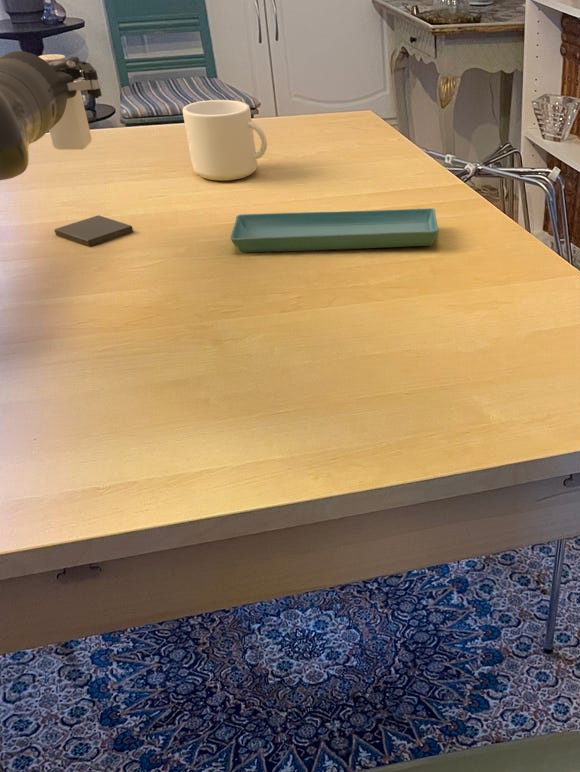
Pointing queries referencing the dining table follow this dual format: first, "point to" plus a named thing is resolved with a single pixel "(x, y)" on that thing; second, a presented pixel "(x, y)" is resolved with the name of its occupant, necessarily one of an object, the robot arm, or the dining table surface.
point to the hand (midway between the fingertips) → (60, 67)
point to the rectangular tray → (334, 230)
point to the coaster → (93, 230)
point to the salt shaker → (70, 120)
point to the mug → (222, 139)
